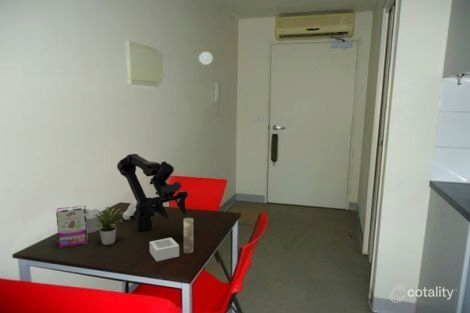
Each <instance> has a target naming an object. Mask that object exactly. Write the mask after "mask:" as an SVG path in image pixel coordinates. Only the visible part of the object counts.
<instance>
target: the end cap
mask: <svg viewBox="0 0 470 313" xmlns="http://www.w3.org/2000/svg"><path fill="white" fill-rule="evenodd" d="M149 253H150V255H151V256H152V257H153V259H154V260H155V262H160V261H165V260H168V259H173V258H177V257H180V245H179V244H178V243H177V242H176V241H175V240H174V239H173V238H172V237H166V238H161V239H157V240H152V241H149Z"/></svg>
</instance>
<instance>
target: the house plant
mask: <svg viewBox="0 0 470 313" xmlns="http://www.w3.org/2000/svg"><path fill="white" fill-rule="evenodd" d="M115 208H116V207H113V208H112V209H111V210H110V207H109V206H105V214H104V212H102V211H100V210H98V212H99V213H100V215H101V217H102V218H101V217H100V216H98V215H95V216H97V217H98V218H99V219H100V220H99V219H95V221H98V222H100V223H101V224H102V228H100V229H99V230H98V231H99V235H100V239H101V244H102V245H106V246H107V245H113V244H114V243H115V241H116V232H117V226H116V224H117V223H123V221H124V218H122V219H121V218H120V217H123V216H124V215H123V211H121V212H118V211H120V210H121V209H122V208H118V209H117V210H115ZM114 210H115V211H114ZM113 211H114V212H113ZM101 212H102V213H101ZM96 214H97V213H96ZM103 214H104V215H103ZM92 216H93V215H92ZM101 224H97V225H96V226H97V227H100V225H101Z"/></svg>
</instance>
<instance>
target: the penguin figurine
mask: <svg viewBox="0 0 470 313" xmlns="http://www.w3.org/2000/svg"><path fill="white" fill-rule="evenodd" d="M136 203H137V201H136V200H134V201H132V202H131V203H130V204H129V206H128V207H127V209H126V211H123V212H122V215H124V216H122V219H123V220H125V221H127V220H131V216H133V217H134V215H133V213H134V212H135V211H136Z"/></svg>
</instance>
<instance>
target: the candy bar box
mask: <svg viewBox="0 0 470 313" xmlns="http://www.w3.org/2000/svg"><path fill="white" fill-rule="evenodd" d="M86 208H87V207H86V205H78V206H68V207H67V206H66V207H58V208H57V210H56V211H55V214H56V225H57V237H58V239H57V240H58V248H59V249H62V248H69V247H77V246H84V245H88V233H87V221H86Z"/></svg>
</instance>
